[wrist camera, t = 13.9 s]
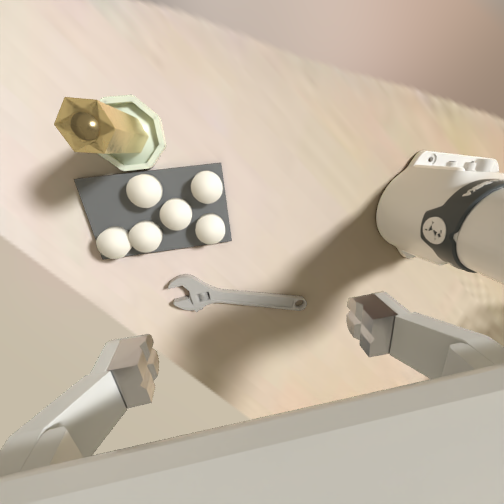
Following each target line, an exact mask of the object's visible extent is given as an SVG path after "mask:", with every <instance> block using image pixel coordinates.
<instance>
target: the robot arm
mask: <svg viewBox="0 0 504 504" xmlns="http://www.w3.org/2000/svg"><path fill="white" fill-rule="evenodd" d="M429 158H430V160H429V161H428V159H429ZM376 222H377V227H378V230H379V232H380V234H381V236H382V237H383V238H384V239H385V240H386V241H387V242H388V243H390V244H392V245H394V246H395V247H397V249H398V251H399V252H400V254H401V255H402V256H403V257H406V258H413V257H416V256H417V257H419V258H422V259H424V260H427V261H429V262H432V263H434V264H437V265H444V264H447V263H449V264H450V265H452V266H454V267H456V268H458V269H462V270H465V271H468V272H472V273H479V274H482V275H484V276H486V277H488V278H490V279H492V280H495V281H497V282H499V283H501V284H503V285H504V173H499V166H498V163H497V160H495V159H492V158H484V157H476V156H468V155H459V154H451V153H442V152H434V151H425V150H422V151H419V152H418V153H417V154H416V155H415V156H414V158H413V159H412V161H411V162H410V164H409V165H408V167H407V168H406V169H405V170H404V171H403V172H401V173H400V174H399V175H398V176H396V177H395V178H394V179H393V180H392V181H391V182H390V184H389V185H388V186H387V187H386V189H385V191H384V192H383V194H382V196H381V198H380V201H379V204H378V207H377V213H376ZM347 307H348V308H349V309H350V311H349V313H348V314H347V326H348V329H349V331H350V333H351V334H352V336H353V337H354V338H356V339H358V340H360V346H361V348H362V349H363V350H364V351H365V353H366V354H367V355H368V357H373V356H379V355H384V354H390V355H391V356H393V357H394V358H396V359H398V360H399V361H401V362H403V363H405V364H406V365H408V366H410V367H411V368H413V369H415V370H416V371H418V372H420V373H421V374H423V375H425V376H427V377H428V378H430V380H426V381H421V382H417V383H412V384H408V385H403V386H399V387H394V388H390V389H386V390H381V391H377V392H372V393H368V394H363V395H359V396H354V397H350V398H346V399H341V400H337V401H332V402H328V403H323V404H319V405H314V406H310V407H306V408H301V409H297V410H292V411H288V412H283V413H279V414H274V415H270V416H265V417H261V418H257V419H252V420H248V421H243V422H239V423H234V424H231V425H226V426H221V427H217V428H212V429H208V430H204V431H199V432H195V433H191V434H186V435H181V436H177V437H173V438H168V439H164V440H159V441H155V442H150V443H146V444H142V445H137V446H132V447H128V448H124V449H119V450H115V451H110V452H106V453H102V454H97V455H92V454H93V453H94V452H95V451H96V449H97V448H98V447H99V446H100V444H101V443H102V442H103V440H104V439H105V438H106V436H107V435H108V434H109V433H110V431H111V430H112V429H113V427H114V426H115V425H116V424H117V422H118V421H119V419H120V418H121V417H122V416H123V414H124V413H125V412H126V411H127V408H131V407H135V406H139V405H144V404H148V403H151V402H152V398H153V394H154V390H155V384H154V380H155V378H156V377H157V376H158V371H159V358H158V354H157V351H156V350H155V349H153V348H152V347H153V343H154V341H153V339H152V336H151V335H150V334H146V335H140V336H133V337H127V338H123V339H116V340H111V341H108V342H107V343H106V344H105V346H104V348H103V350H102V352H101V354H100V356H99V357H98V360H97V361H96V363H95V365H94V367H93V369H92V371H91V373H90V374H89V375H86V376H84V377H83V378H81V379H80V380H79V381H78V382H76V383H75V384H74V385H73V386H71V387H70V388H69V389H68V390H67V391H66V392H64V393H63V394H62V395H60V396H59V397H58V398H57V399H55V400H54V401H53V402H52V403H50V404H49V405H48V406H47V407H45V408H44V409H43V410H42V411H41V412H39V413H38V414H37V415H36V416H34V417H33V418H32V419H31V420H29V421H28V422H27V423H26V424H24V425H23V426H22V427H21V428H20V429H18V430H17V431H16V432H14V433H13V434H12V435H11V436H10V437H9V438H8V440H7V441H6V442H5V444H4V445H3V447H2V448H1V450H0V504H504V347H503V346H502V345H500V344H499V343H497V342H496V341H494V340H493V339H491V338H490V337H489V336H486V335H483V334H480V333H477V332H474V331H471V330H468V329H465V328H462V327H459V326H456V325H453V324H450V323H447V322H443V321H440V320H437V319H434V318H431V317H428V316H425V315H422V314H419V313H416V312H413V313H411V312H410V311H409V310H407V309H406V308H405V307H404V306H402V305H401V304H400V303H399V302H397V301H396V300H395V299H394V298H392V297H391V296H390V295H389V294H388V293H386V292H384V291H381V292H376V293H371V294H368V295H363V296H358V297H352V298H349V299H348V302H347Z"/></svg>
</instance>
